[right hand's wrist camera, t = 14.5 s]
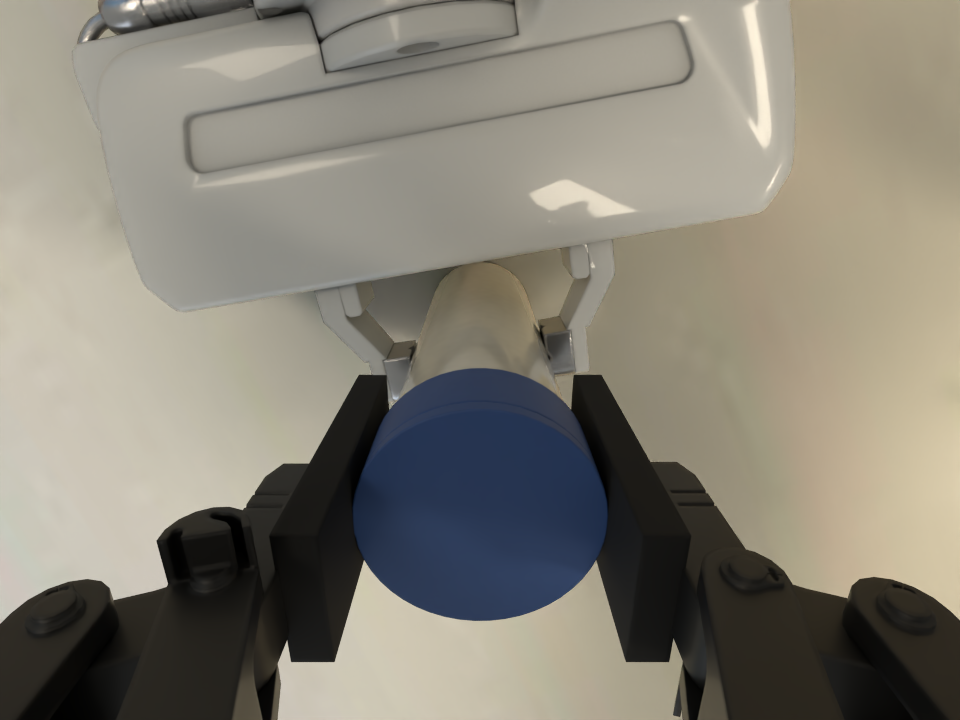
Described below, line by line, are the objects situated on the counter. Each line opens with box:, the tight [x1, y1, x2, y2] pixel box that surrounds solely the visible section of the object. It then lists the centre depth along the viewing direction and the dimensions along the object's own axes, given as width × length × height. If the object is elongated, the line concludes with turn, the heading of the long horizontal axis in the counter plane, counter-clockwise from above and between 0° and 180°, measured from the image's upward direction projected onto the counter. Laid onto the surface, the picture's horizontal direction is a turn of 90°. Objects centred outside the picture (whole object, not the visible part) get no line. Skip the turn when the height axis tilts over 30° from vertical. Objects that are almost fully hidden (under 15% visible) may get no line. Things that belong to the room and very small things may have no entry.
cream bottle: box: [397, 262, 563, 401], centre depth 18 cm, size 5×5×16 cm
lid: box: [352, 368, 608, 621], centre depth 11 cm, size 5×5×2 cm
